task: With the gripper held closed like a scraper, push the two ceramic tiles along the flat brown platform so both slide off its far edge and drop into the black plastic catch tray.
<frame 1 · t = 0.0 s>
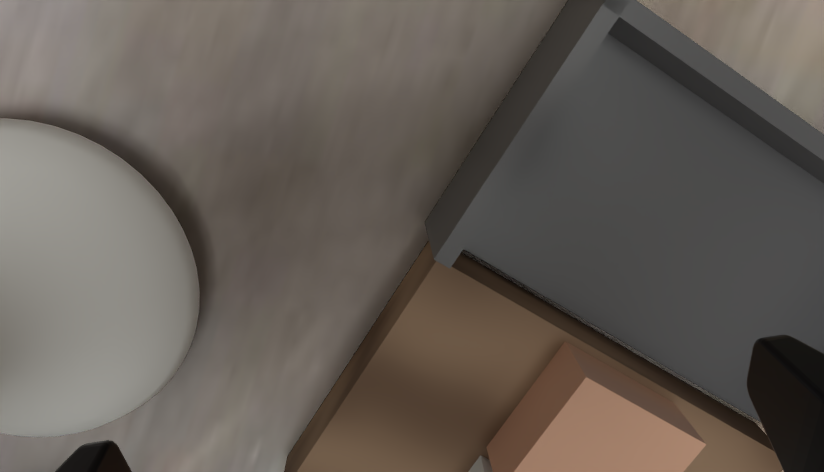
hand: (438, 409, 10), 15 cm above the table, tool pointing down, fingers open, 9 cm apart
flower in vase: (50, 287, 25), on the table
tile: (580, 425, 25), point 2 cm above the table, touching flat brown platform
flat brown platform: (524, 440, 28), on the table
catch tray: (682, 230, 25), on the table
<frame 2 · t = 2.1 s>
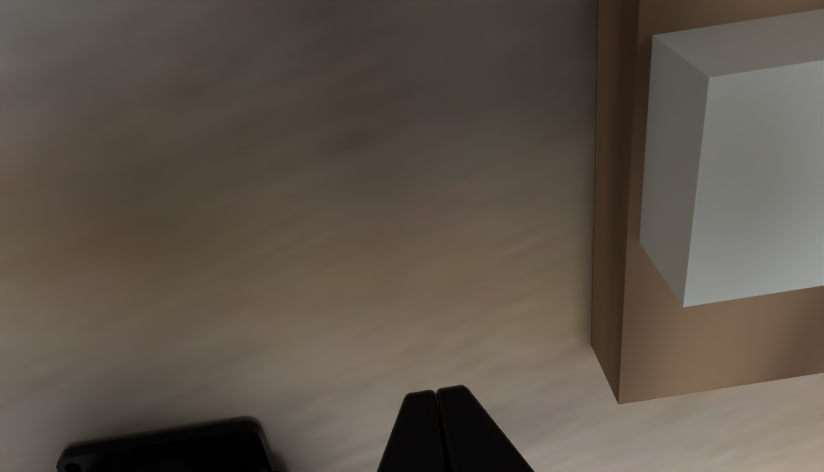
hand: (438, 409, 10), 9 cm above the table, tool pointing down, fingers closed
flat brown platform: (813, 73, 17), on the table
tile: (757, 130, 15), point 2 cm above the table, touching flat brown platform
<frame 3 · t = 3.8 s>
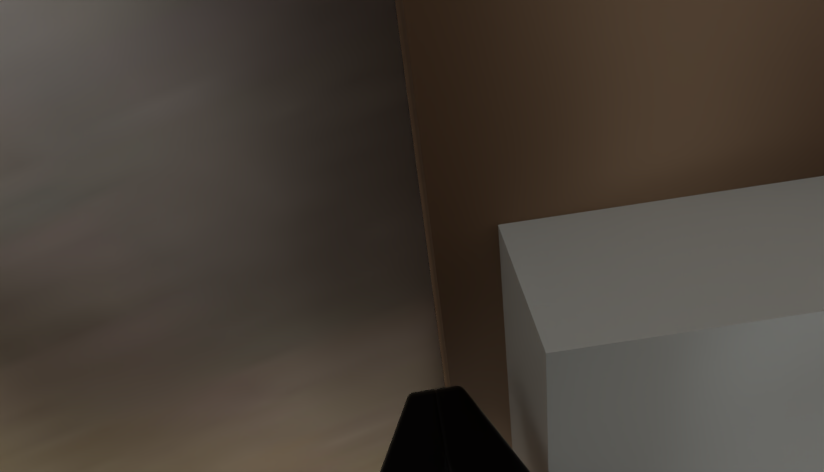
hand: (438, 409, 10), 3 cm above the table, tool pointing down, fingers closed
flat brown platform: (728, 231, 12), on the table
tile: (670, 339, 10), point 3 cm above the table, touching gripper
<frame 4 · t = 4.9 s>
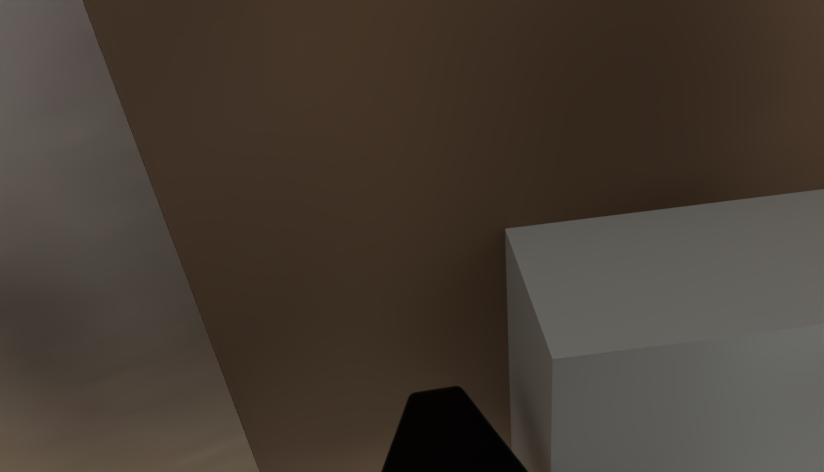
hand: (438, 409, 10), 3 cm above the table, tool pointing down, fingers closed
flat brown platform: (554, 254, 12), on the table
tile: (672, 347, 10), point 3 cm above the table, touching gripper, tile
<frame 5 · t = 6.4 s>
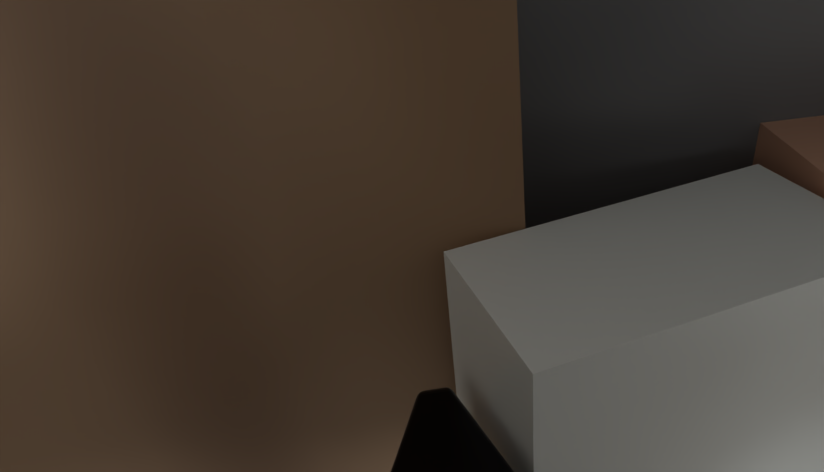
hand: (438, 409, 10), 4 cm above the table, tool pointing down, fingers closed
flat brown platform: (206, 300, 13), on the table
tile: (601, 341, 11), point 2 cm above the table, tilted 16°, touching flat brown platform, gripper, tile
catch tray: (773, 223, 12), on the table
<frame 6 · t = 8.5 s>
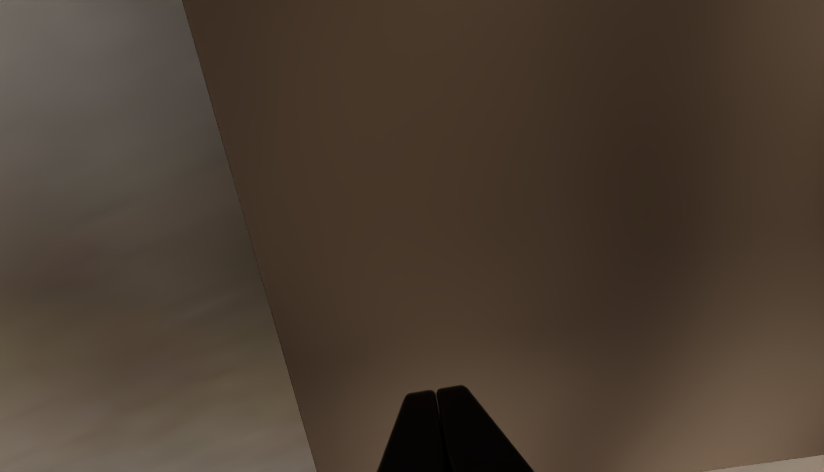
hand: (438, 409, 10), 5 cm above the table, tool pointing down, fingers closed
flat brown platform: (562, 84, 12), on the table
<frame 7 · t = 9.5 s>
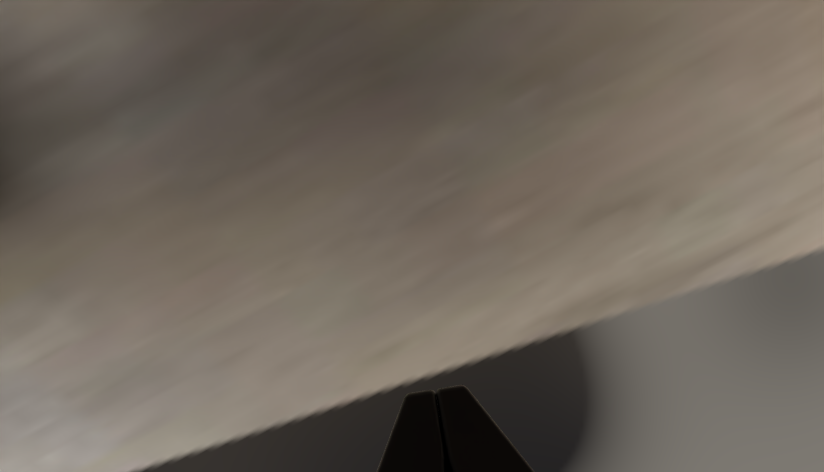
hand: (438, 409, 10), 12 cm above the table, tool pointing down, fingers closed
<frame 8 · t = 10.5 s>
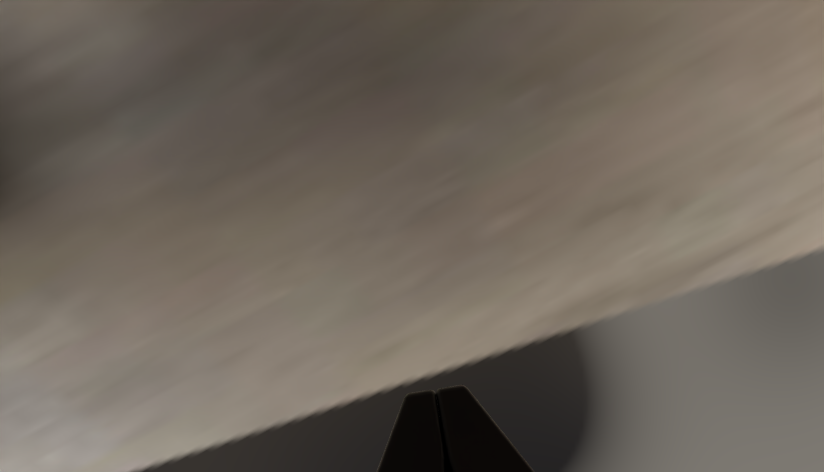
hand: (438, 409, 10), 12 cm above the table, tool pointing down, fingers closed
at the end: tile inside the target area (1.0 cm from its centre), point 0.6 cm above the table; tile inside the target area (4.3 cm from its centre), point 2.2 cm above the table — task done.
